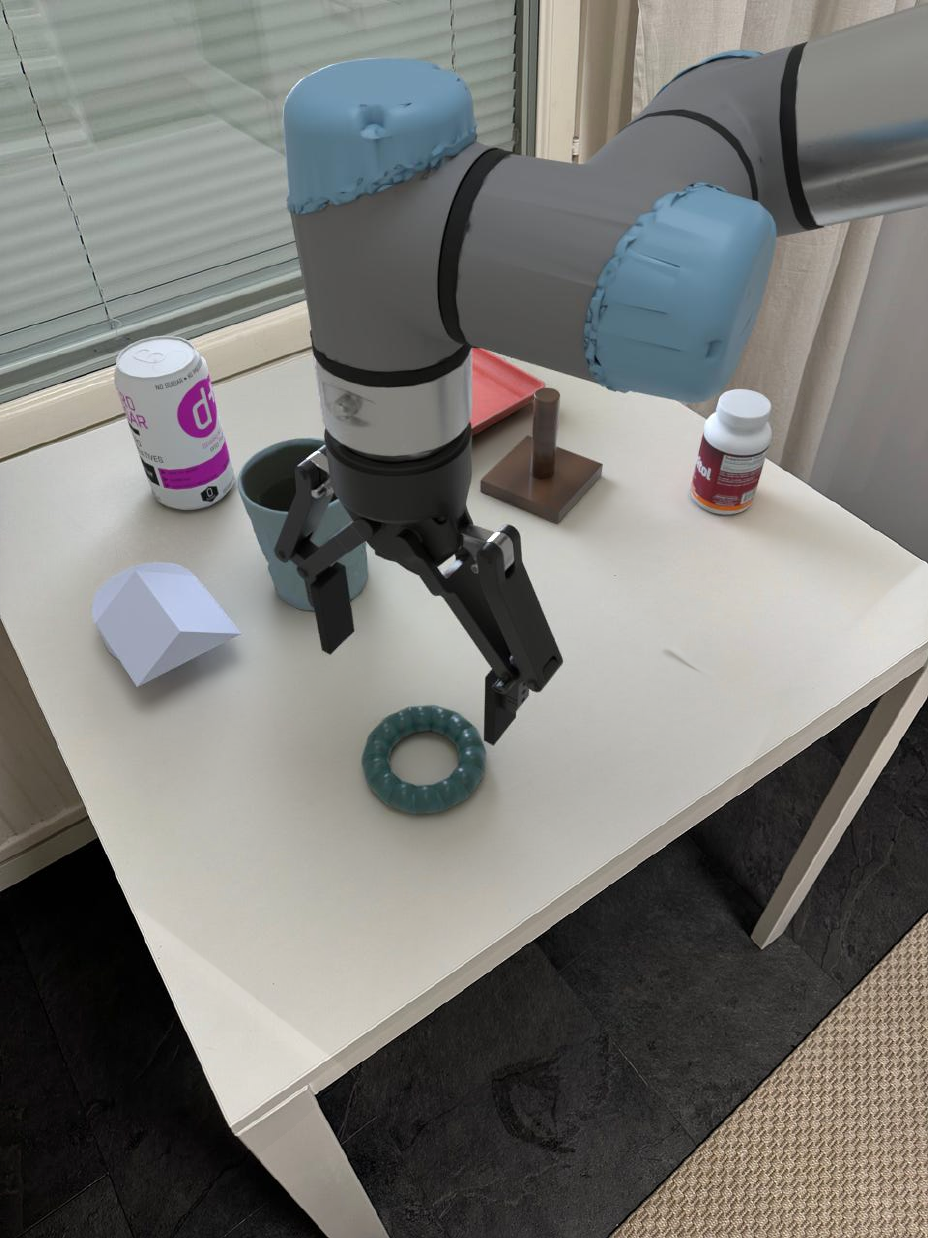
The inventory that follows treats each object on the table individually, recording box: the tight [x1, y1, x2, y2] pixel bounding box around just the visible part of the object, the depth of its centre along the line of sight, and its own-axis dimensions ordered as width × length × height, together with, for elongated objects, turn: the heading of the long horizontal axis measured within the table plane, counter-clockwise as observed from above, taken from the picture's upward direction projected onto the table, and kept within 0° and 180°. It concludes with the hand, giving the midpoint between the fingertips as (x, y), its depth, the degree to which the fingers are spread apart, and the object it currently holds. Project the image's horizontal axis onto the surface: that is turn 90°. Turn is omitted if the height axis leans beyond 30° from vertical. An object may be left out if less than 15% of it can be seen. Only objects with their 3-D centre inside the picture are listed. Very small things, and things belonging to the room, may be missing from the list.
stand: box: [479, 387, 604, 524], centre depth 87 cm, size 9×9×10 cm
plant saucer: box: [470, 348, 546, 437], centre depth 99 cm, size 18×18×3 cm
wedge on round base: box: [90, 561, 242, 688], centre depth 74 cm, size 9×7×13 cm
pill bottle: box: [690, 388, 773, 515], centre depth 85 cm, size 6×6×11 cm
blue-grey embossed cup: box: [237, 437, 368, 612], centre depth 77 cm, size 10×10×12 cm
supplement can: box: [113, 335, 236, 511], centre depth 85 cm, size 8×8×15 cm
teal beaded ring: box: [361, 704, 487, 815], centre depth 67 cm, size 9×9×2 cm
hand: (415, 683), depth 61 cm, fingers open, 13 cm apart
